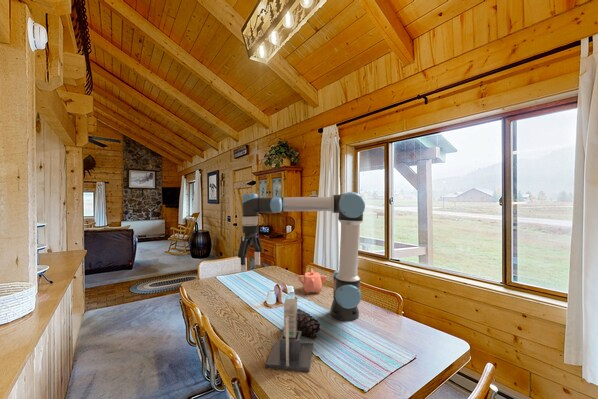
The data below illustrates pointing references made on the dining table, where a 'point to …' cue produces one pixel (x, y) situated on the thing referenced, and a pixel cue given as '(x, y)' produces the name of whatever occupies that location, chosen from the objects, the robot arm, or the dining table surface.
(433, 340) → the dining table surface
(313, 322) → the pine cone
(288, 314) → the column
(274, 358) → the stand base
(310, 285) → the teapot
